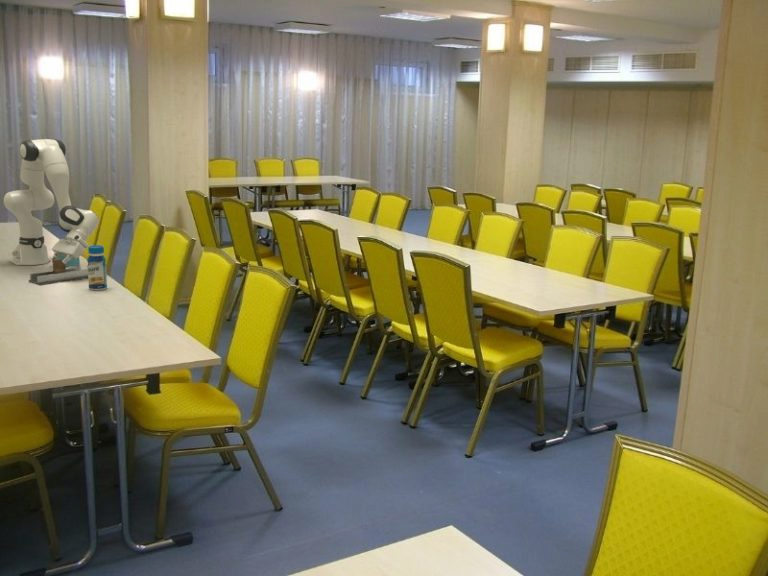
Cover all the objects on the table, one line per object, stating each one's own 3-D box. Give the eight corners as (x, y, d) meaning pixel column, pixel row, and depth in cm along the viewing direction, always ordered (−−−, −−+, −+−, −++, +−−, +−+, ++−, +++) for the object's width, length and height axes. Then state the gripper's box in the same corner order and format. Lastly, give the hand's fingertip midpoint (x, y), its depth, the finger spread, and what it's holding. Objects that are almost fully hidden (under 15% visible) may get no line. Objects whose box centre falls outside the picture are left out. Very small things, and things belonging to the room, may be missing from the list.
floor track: (28, 281, 397) (28, 273, 396) (78, 274, 417) (78, 266, 416) (40, 285, 390) (39, 277, 389) (90, 277, 410) (90, 269, 409)
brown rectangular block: (53, 277, 402) (52, 259, 400) (63, 276, 406) (61, 258, 404) (56, 278, 400) (55, 260, 398) (66, 277, 404) (65, 259, 402)
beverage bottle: (111, 288, 388) (109, 246, 384) (97, 291, 381) (95, 248, 376) (98, 286, 392) (96, 244, 388) (84, 289, 385) (82, 246, 380)
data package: (79, 265, 440) (78, 242, 438) (79, 266, 436) (78, 244, 434) (55, 266, 436) (53, 243, 433) (55, 267, 431) (54, 245, 429)
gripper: (59, 233, 411) (42, 254, 405) (82, 238, 398) (64, 260, 393) (68, 241, 415) (51, 262, 410) (91, 246, 402) (73, 268, 397)
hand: (57, 261), depth 401 cm, fingers open, 8 cm apart
